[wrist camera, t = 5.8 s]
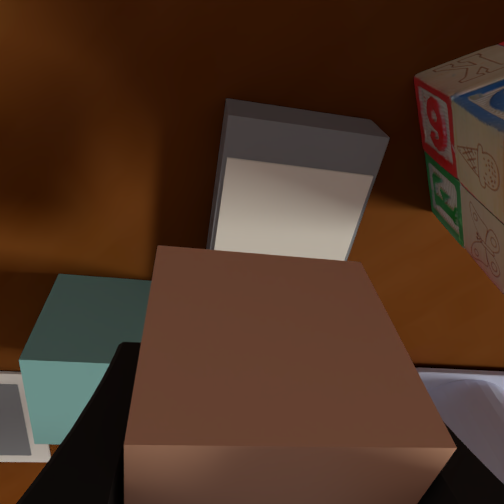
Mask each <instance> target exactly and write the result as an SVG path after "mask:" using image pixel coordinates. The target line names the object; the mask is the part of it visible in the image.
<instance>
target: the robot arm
mask: <svg viewBox="0 0 504 504" xmlns="http://www.w3.org/2000/svg"><path fill="white" fill-rule="evenodd" d="M140 346H141V342H122V343H121V344H119V345H118V347H117V349H116V352H115V354H114V356H113V358H112V360H111V362H110V364H109V366H108V368H107V370H106V372H105V374H104V376H103V378H102V379H101V381H100V383H99V385H98V386H97V388H96V390H95V392H94V393H93V395H92V397H91V398H90V400H89V401H88V403H87V405H86V406H85V408H84V409H83V411H82V413H81V414H80V416H79V417H78V419H77V421H76V422H75V424H74V425H73V427H72V428H71V430H70V431H69V433H68V434H67V436H66V437H65V438H64V440H63V441H62V443H61V444H60V446H59V447H58V448H57V450H56V451H55V453H54V454H53V455H52V457H51V458H50V460H49V461H48V463H47V464H46V465H45V467H44V468H43V469H42V471H41V472H40V473H39V475H38V476H37V477H36V479H35V480H34V481H33V483H32V484H31V485H30V487H29V488H28V489H27V491H26V492H25V493H24V494H23V496H22V497H21V498H20V499H19V501H18V502H17V503H16V504H124V441H125V435H126V429H127V423H128V417H129V411H130V405H131V400H132V394H133V388H134V382H135V376H136V370H137V364H138V358H139V352H140ZM416 370H417V372H418V374H419V376H420V378H421V379H422V381H423V383H424V385H425V387H426V389H427V391H428V393H429V395H430V397H431V399H432V401H433V403H434V405H435V406H436V408H437V410H438V412H439V414H440V416H441V418H442V420H443V422H444V424H445V426H446V428H447V430H448V432H449V433H450V435H451V437H452V439H453V441H454V443H455V445H456V447H457V449H456V450H455V452H454V453H453V454H452V456H451V457H450V459H449V460H448V461H447V463H446V464H445V466H444V467H443V468H442V470H441V471H440V473H439V474H438V475H437V477H436V478H435V480H434V481H433V482H432V484H431V485H430V487H429V488H428V489H427V491H426V492H425V494H424V495H423V496H422V498H421V499H420V501H419V502H418V503H417V504H504V371H483V370H463V369H442V368H421V367H418V368H416Z"/></svg>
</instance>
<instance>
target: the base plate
mask: <svg viewBox="0 0 504 504" xmlns="http://www.w3.org/2000/svg"><path fill="white" fill-rule="evenodd" d="M389 139H390V138H389V137H388V136H387V135H386V134H385V133H384V132H383V131H382V130H381V129H380V128H379V127H378V126H377V125H376V124H375V123H374V122H373V121H372V120H370V119H363V118H356V117H349V116H343V115H336V114H329V113H323V112H316V111H309V110H303V109H296V108H289V107H283V106H276V105H269V104H262V103H256V102H249V101H242V100H236V99H229V98H226V102H225V109H224V117H223V125H222V132H221V140H220V148H219V155H218V163H217V170H216V178H215V186H214V193H213V201H212V209H211V216H210V224H209V232H208V239H207V247H206V249H209V250H221V251H233V252H245V253H257V254H269V255H281V256H293V257H305V258H317V259H329V260H341V261H347V258H348V256H349V253H350V250H351V247H352V244H353V241H354V238H355V236H356V233H357V230H358V227H359V224H360V221H361V219H362V216H363V213H364V210H365V207H366V204H367V202H368V199H369V196H370V193H371V190H372V187H373V184H374V182H375V179H376V176H377V173H378V170H379V167H380V165H381V162H382V159H383V156H384V153H385V150H386V148H387V145H388V142H389Z"/></svg>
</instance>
